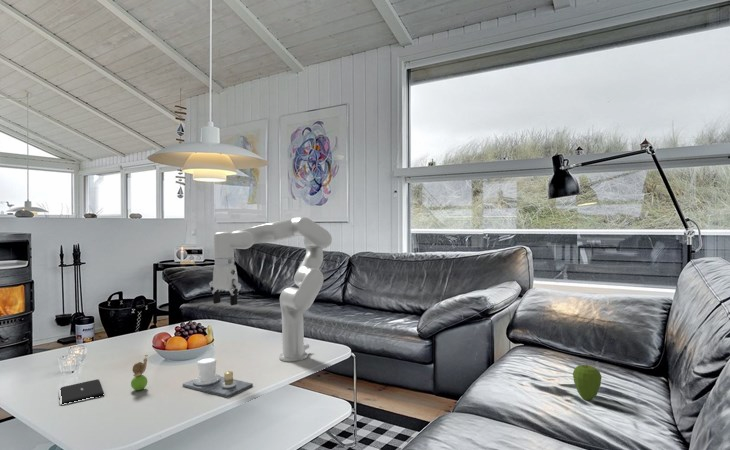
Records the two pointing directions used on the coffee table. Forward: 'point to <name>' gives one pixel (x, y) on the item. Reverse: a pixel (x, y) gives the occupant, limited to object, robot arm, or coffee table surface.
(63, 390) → the laptop
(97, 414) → the coffee table surface
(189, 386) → the flange plate
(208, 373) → the shot glass
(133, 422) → the coffee table surface
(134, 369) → the snail figurine
